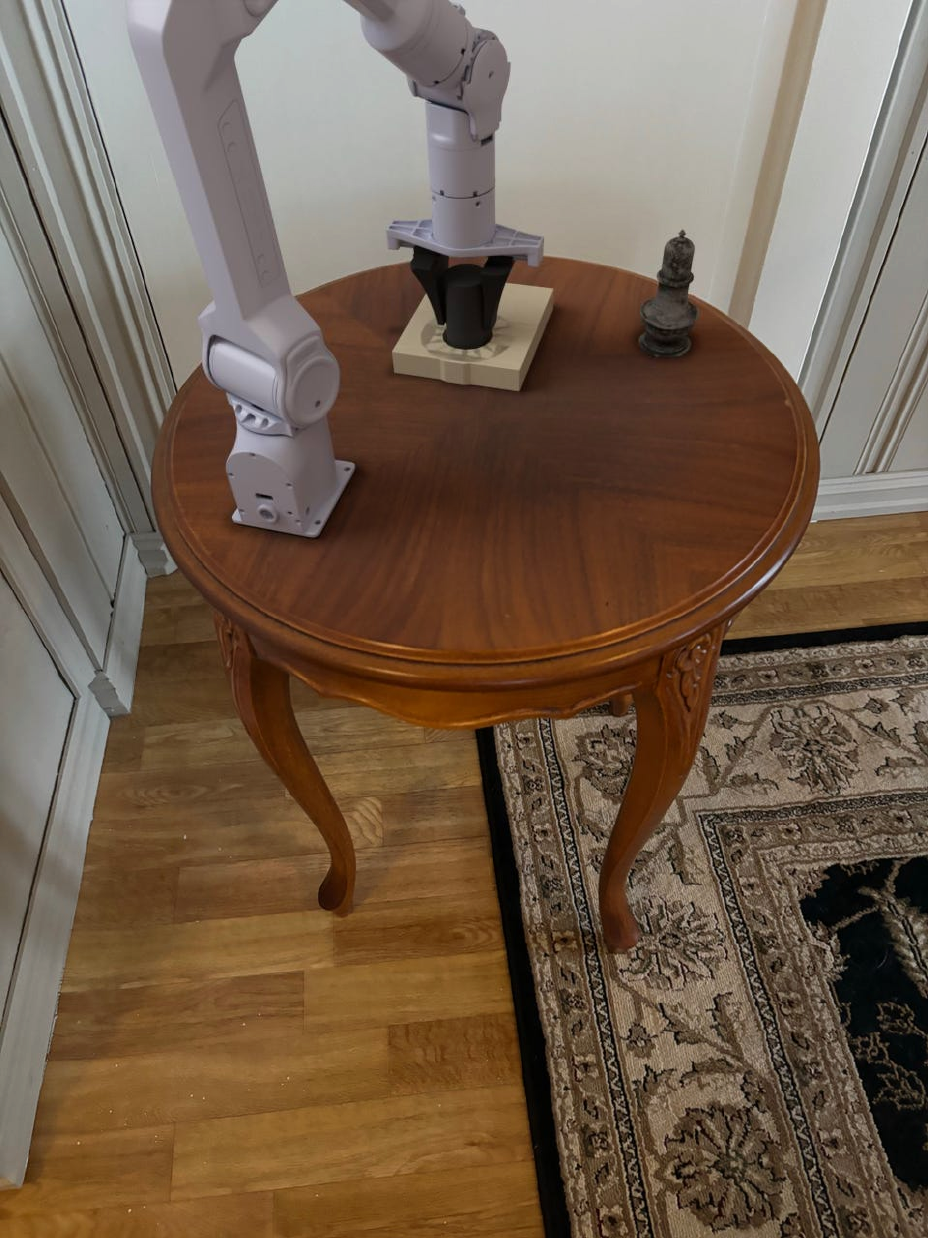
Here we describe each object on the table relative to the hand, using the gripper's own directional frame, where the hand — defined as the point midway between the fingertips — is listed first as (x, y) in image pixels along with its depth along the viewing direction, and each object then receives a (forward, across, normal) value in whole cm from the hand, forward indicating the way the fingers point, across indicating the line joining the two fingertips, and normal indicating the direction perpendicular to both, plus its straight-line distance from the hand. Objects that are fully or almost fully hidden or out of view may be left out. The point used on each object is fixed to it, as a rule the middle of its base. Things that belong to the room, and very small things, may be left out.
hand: (467, 322), depth 88 cm
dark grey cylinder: (+2, 0, 0) cm, 2 cm away
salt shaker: (+4, -19, -7) cm, 21 cm away
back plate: (+4, 0, -3) cm, 5 cm away
